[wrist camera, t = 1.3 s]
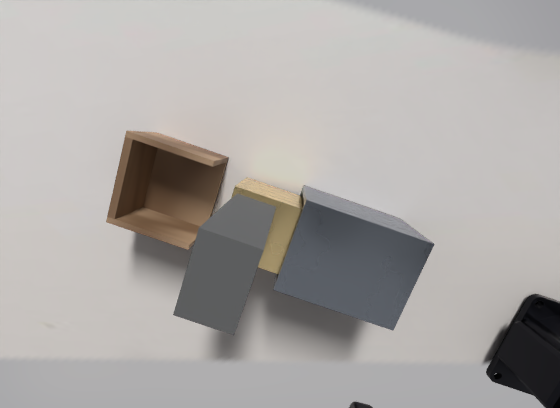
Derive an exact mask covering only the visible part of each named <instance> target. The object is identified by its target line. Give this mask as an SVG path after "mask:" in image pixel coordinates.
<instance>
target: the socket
mask: <svg viewBox="0 0 560 408" xmlns="http://www.w3.org/2000/svg"><path fill="white" fill-rule="evenodd" d="M228 158H229V157H226V156H223V155H220V154H217V153H214V152H212V151H209V150H206V149H203V148H200V147H197V146H194V145H191V144H188V143H185V142H183V141H180V140H177V139H174V138H171V137H168V136H165V135H162V134H159V133H155V132H139V131H126V135H125V140H124V144H123V149H122V153H121V158H120V162H119V167H118V171H117V176H116V180H115V185H114V189H113V194H112V198H111V203H110V207H109V211H108V216H107V220H106V222H107V223H110V224H113V225H116V226H119V227H122V228H125V229H128V230H131V231H134V232H137V233H140V234H143V235H146V236H149V237H152V238H155V239H158V240H161V241H163V242H166V243H169V244H172V245H175V246H178V247H181V248H184V249H187V250H189V249H190V248H191V247H192V245H193V244H194V243H195V239H196V236H197V232H198V229H199V227H200V226H201V225H202V224H204V223H205V222H206V221H207V220H208V219H209V218H210V217H211V214H212V211H213V208H214V204H215V201H216V198H217V194H218V191H219V188H220V184H221V181H222V178H223V174H224V171H225V168H226V164H227V161H228Z"/></svg>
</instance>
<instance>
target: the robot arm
mask: <svg viewBox="0 0 560 408" xmlns="http://www.w3.org/2000/svg"><path fill="white" fill-rule="evenodd" d="M537 301H539V302H538V303H537V304H536V302H537ZM535 304H536V305H535ZM486 373H487V375H488V377H489V378H490V379H491V380H492V381H493V382H495V383H498V384H501V385H504V386H508V387H510V388H513V389H516V390H519V391H522V392H525V393H528V394H531V395H534V396H535V397H536V398H537V399H538V400H539V401H540V402H541V403H542V404H543V406H544V407H546V408H560V302H559V301H556V300H553V299H551V298H548V297H545V296H542V295H539V294H533V295H531V296H529V297H528V298H527V300H526V302H525V303H524V305H523V307H522V309H521V310H520V312H519V314H518V316H517V317H516V319H515V321H514V323H513V325H512V326H511V328H510V330H509V332H508V333H507V335H506V337H505V339H504V340H503V342H502V344H501V346H500V347H499V349H498V351H497V353H496V354H495V356H494V358H493V360H492V361H491V363H490V365H489V367H488V368H487V371H486ZM495 373H497V374H495ZM494 374H495V375H494ZM349 408H373V407H371V406H370V405H367V404H363V403H359V402H353V403H352V404H351V405H350V407H349Z"/></svg>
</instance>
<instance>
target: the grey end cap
mask: <svg viewBox="0 0 560 408" xmlns="http://www.w3.org/2000/svg"><path fill="white" fill-rule="evenodd" d="M300 196H302V197H303V200H304V206H303V209H302V212H301V214H300V217H299V220H298V222H297V225H296V228H295V231H294V233H293V236H292V239H291V242H290V244H289V247H288V250H287V252H286V255H285V258H284V261H283V263H282V266H281V269H280V272H279V274H276V276H275V282H274V289H273V290H275V291H278V292H281V293H284V294H287V295H290V296H293V297H296V298H299V299H301V300H304V301H307V302H310V303H313V304H316V305H319V306H322V307H325V308H328V309H331V310H334V311H337V312H340V313H343V314H346V315H349V316H352V317H355V318H358V319H361V320H364V321H366V322H369V323H372V324H375V325H378V326H381V327H384V328H387V329H390V330H394V328H395V326H396V324H397V321H398V319H399V317H400V315H401V313H402V311H403V309H404V307H405V305H406V303H407V300H408V298H409V296H410V294H411V292H412V290H413V288H414V286H415V284H416V282H417V279H418V277H419V275H420V273H421V271H422V269H423V267H424V265H425V263H426V261H427V258H428V256H429V254H430V252H431V250H432V248H433V246H434V243H432V242H431V241H430V240H428V239H427V238H426V237H424V236H423V235H422V234H420V233H419V232H418V231H416V230H415V229H413V228H412V227H411V226H409V225H408V224H407V223H405V222H404V221H403V220H401V219H400V218H397V217H394V216H392V215H389V214H386V213H383V212H380V211H377V210H374V209H371V208H368V207H366V206H363V205H360V204H357V203H354V202H351V201H348V200H345V199H342V198H340V197H337V196H334V195H331V194H328V193H325V192H322V191H319V190H316V189H313V188H311V187H308V186H305V185H304V186H303V189H302V191H301V194H300Z"/></svg>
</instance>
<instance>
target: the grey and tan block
mask: <svg viewBox="0 0 560 408" xmlns="http://www.w3.org/2000/svg"><path fill="white" fill-rule="evenodd" d="M303 206H304V200H303V197H302V196H299V195H297V194H294V193H291V192H288V191H285V190H282V189H279V188H276V187H273V186H270V185H268V184H265V183H262V182H259V181H256V180H253V179H250V178H245V179H244V180H243V181H241V182H240V183H239V184H237V185H236V186H235V188H234V192H233V195H232V198H231V199H230V200H229V201H228V202H227V203H226V204H225V205H224V206H223V207H221V208H220V209H219V210H218V211H217V212H216V213H215V214H214V215H212V216H211V217H210V218H209V219H208V220H207V221H206V222H205V223H204V224H202V225H201V226H200V227H199V229H198V232H197V236H196V239H195V243H194V246H193V249H192V253H191V256H190V260H189V263H188V266H187V270H186V273H185V277H184V280H183V283H182V287H181V290H180V294H179V297H178V300H177V304H176V307H175V311H174V314H173V315H175V316H178V317H181V318H184V319H187V320H190V321H193V322H196V323H199V324H202V325H205V326H208V327H211V328H214V329H217V330H220V331H223V332H226V333H229V334H232V335H234V334H235V331H236V328H237V325H238V322H239V319H240V317H241V314H242V311H243V308H244V305H245V302H246V299H247V296H248V294H249V291H250V288H251V285H252V282H253V279H254V276H255V273H256V271H257V268H261V269H264V270H267V271H270V272H273V273H276V274H279V272H280V269H281V266H282V263H283V261H284V258H285V255H286V252H287V250H288V247H289V244H290V242H291V239H292V236H293V233H294V231H295V228H296V225H297V222H298V220H299V217H300V214H301V212H302V209H303Z"/></svg>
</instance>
